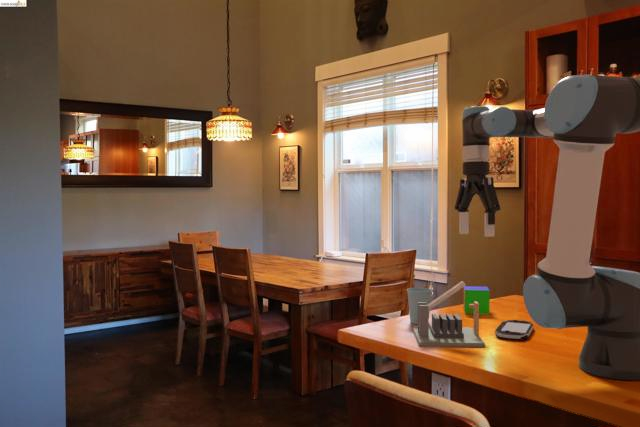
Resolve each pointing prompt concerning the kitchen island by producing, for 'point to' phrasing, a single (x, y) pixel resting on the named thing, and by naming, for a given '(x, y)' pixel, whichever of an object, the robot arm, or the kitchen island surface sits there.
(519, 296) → the kitchen island surface
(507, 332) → the gaming console
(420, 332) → the grey slotted rack
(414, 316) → the cup
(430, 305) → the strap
